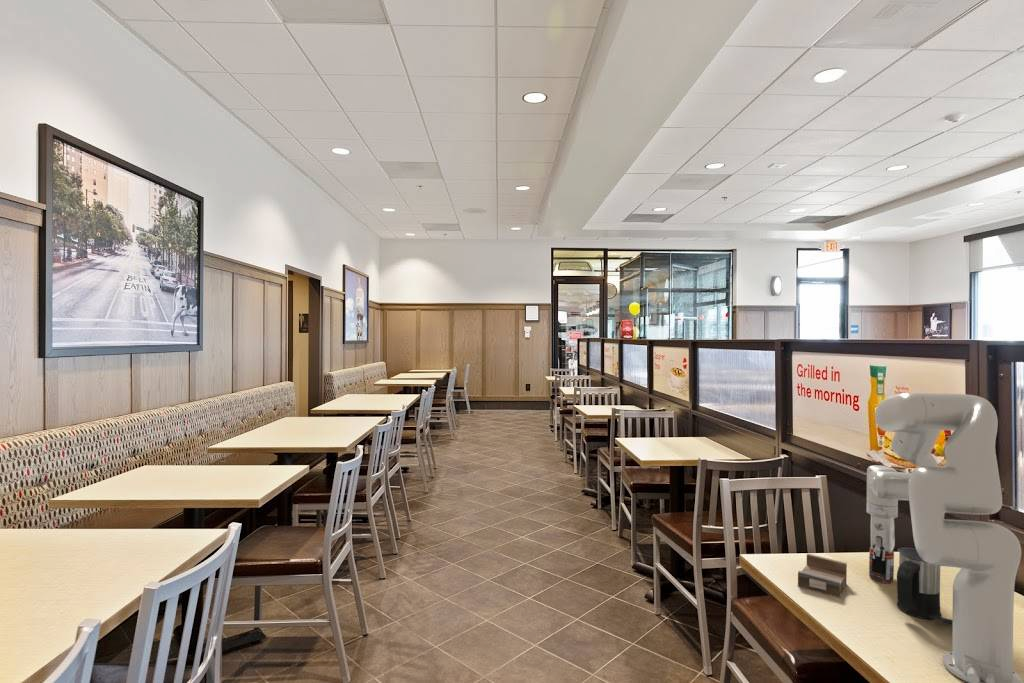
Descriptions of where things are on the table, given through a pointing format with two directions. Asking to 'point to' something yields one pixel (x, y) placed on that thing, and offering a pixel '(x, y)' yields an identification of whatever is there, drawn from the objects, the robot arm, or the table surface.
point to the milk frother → (918, 586)
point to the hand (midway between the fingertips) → (881, 567)
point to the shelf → (823, 575)
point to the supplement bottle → (889, 568)
